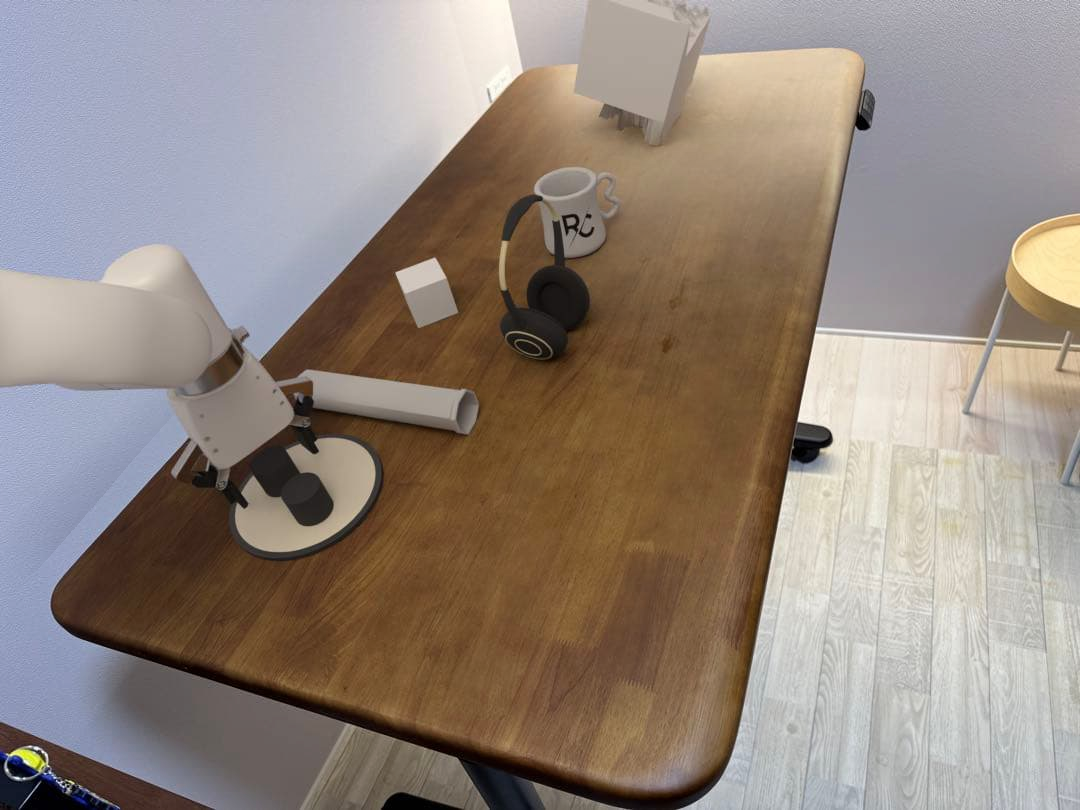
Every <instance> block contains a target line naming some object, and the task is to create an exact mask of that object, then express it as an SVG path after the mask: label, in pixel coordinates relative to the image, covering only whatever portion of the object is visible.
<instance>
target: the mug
mask: <svg viewBox="0 0 1080 810" xmlns="http://www.w3.org/2000/svg"><path fill="white" fill-rule="evenodd" d="M605 179H607V180H608V181H609V184H608V186H607V188H606V190H605V192H604V199H605V200H606V201H607V202H609V203H612V204H613V206H612V208H611V209H610V210H609V211H608V212H604V211H603V210H602V209H600V204H599V199H598V186H600V184H601V182H602V181H603V180H605ZM616 185H617V178H616V176H615V175H614V174H612V173H611V172H607V171H604V172H600V173H599V174H597V175H596V174H595V172H594V171H593V170H591V169H589V168H587V167H582V166H568V167H562V168H557V169H555V170H552V171H550V172H548V173H545V174H544V175H543V176H541V177H540V178H538V180H537V181H536V182H535V184H534V187H533V193H534V194H535V195H539V196H542V197H543V198H544V199H546V200H547V201H549V202H550V203H551V204H552V206H553V207H554V209H555V211H556V213H557V216H558V219H559V220H560V225H561V231H562V238H563V246H564V257H565V259H575V258H582V257H584V256H587V255H590V254H592V253H594V252H596V251H597V250H598V249H599V248H601V246H602V245H603V244H604V242H605V240H606V237H607V233H606V227H605V223H604V220H609V219H612V218H613V217H614V216H615V215H616V214H617V212H618V211H619V209H620V207H621V206H620V205H621V202H620V199H619V198H618V197H616V196H613V195H612V193H613V192H614V190H615V188H616ZM537 204H538V206H539V209H540V214H541V220H542V224H543V225H542V226H543V235H544V236H543V237H544V244H545V247H546V250H547V251H548V252H549V253H551V254H552V255H554V231H553V223H552V220H553V218H552V214H551V212H550V210H549V208H548V207H547V206H546V205H545V204H544V203H543V202H541V201H539V202H538V201H537Z"/></svg>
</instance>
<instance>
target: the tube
mask: <svg viewBox="0 0 1080 810" xmlns="http://www.w3.org/2000/svg"><path fill="white" fill-rule="evenodd" d="M299 377H307V378H309V379H310V380H312V381H313V396H312V399H313V400H314V404H313V407H312V409H317V410H324V411H330V412H337V413H341V414H348V415H355V416H360V417H367V418H374V419H379V420H386V421H391V422H399V423H405V424H410V425H416V426H423V427H427V428H428V427H429V428H434V429H440V430H448V431H452V432H453V431H454V432H455V433H456V434H461V435H466V436H469V435H470V433H471V431H472V430H473V428H474V426H475V424H476V423H477V419H478V413H479V409H480V408H479V407H480V404H479V401H478V398H477V395H476V393H475V391H474V390H470V389H467V388H461V389H455V388H447V387H440V386H439V387H438V386H432V385H425V384H424V385H423V384H417V383H410V382H401V381H397V380H396V381H395V380H387V379H382V378H381V379H380V378H373V377H366V376H360V375H352V374H343V373H337V372H329V371H323V370H315V369H308V368H307V369H305V370H304V371H302V372H301V373H300V374H299V375H298V376H296V378H299ZM292 395H293V397H294V399H295V401H296V399H297V397H298V395H299V394H298V393H293V394H292Z"/></svg>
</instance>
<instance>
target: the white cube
mask: <svg viewBox="0 0 1080 810" xmlns="http://www.w3.org/2000/svg"><path fill="white" fill-rule="evenodd" d="M395 275H396V278H397V281H398V284H399V286H400V288H401V291H402V294H403V296H404V299H405V302H406V304H407V308H408V309H409V311H410V313H411V315H412V317H413V320H414V322H415V324H416V326H417V329H421V328H424V327H426V326H428V325H431V324H433V323H436V322H439V321H441V320H443V319H447V318H449V317H451V316H454V315H456V314H459V311H458V308H457V304H456V302H455V298H454V295H453V293H452V290H451V285H450V283H449V281H448V277H447V276H446V274H445V272H444V271H443V268H442V267H441V265H440V263H439V261H438V260H437V258H436V257H433V258H430V259H427V260H424V261H422V262H420V263H416V264H414V265H412V266H409V267H406V268H403V269H401V270H399V271H395Z"/></svg>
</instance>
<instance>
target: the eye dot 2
mask: <svg viewBox="0 0 1080 810" xmlns="http://www.w3.org/2000/svg"><path fill="white" fill-rule="evenodd" d="M281 498H282V500H283V502H284V503H285V505H286V506H287V508H288V509H289V511H290V512H291V513H292V515H293V516H294V518H295V519H296V521H297V522H298V523H299V524H300V525H302V526H314V525H317V524H320V523H321V522H323V521H324V520H326V519H327V518H328V517H329V516H330V514H331V513H332V511H333V507H334V503H333V500H332V498H331V497H330V495H329V493H328V492H327V490H326V488H325V487H324V485H323V483H322V482H321V480H320V478H319V477H318V476H317V475H316V474H314V473H310V472H305V473H301V474H298V475H296V476H294V477H292V478H291V479H289V480H288V481H287V482H286V483H285V485H284V486H283V488H282V490H281Z"/></svg>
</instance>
